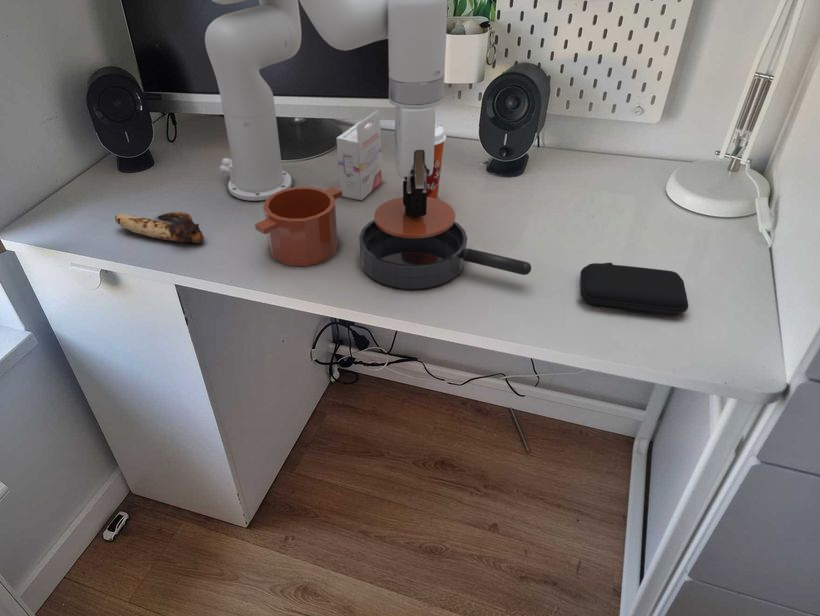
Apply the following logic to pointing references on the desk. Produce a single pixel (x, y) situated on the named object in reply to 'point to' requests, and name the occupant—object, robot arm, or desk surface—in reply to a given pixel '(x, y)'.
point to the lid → (414, 219)
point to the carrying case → (633, 289)
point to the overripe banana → (164, 227)
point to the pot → (301, 225)
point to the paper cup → (436, 163)
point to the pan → (412, 257)
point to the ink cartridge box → (360, 158)
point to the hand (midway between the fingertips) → (414, 208)
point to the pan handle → (496, 261)
